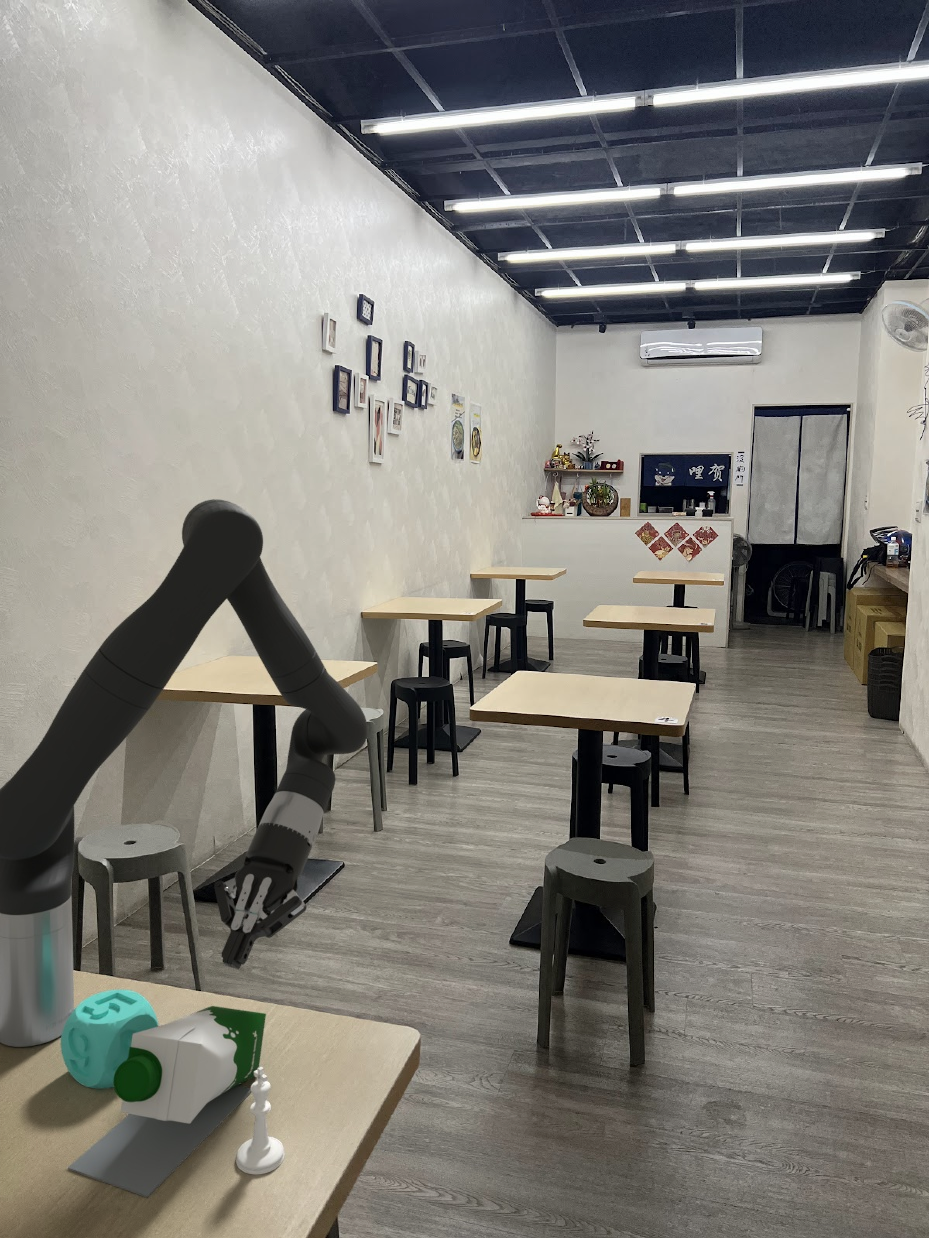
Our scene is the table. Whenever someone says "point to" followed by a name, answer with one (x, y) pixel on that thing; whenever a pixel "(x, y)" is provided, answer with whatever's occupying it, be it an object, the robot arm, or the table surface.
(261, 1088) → the chess piece
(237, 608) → the robot arm
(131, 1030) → the decorative dice
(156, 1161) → the mat
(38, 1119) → the table surface
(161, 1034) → the soya milk
